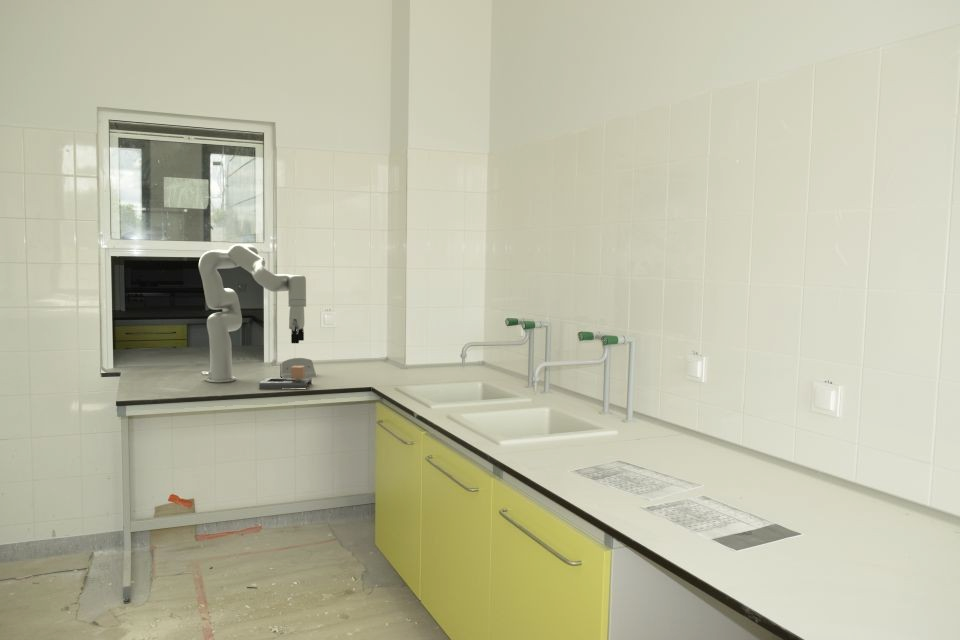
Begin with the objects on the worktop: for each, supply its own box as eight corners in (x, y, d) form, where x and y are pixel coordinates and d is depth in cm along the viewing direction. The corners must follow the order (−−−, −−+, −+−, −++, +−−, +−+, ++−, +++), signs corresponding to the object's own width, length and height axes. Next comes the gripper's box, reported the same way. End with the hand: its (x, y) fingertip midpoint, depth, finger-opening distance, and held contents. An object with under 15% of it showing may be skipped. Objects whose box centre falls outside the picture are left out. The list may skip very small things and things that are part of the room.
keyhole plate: (259, 389, 314) (259, 382, 313) (267, 383, 327) (267, 377, 326) (305, 389, 314) (305, 383, 314) (311, 383, 327) (311, 377, 327)
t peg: (291, 387, 318) (291, 367, 317) (294, 385, 323) (293, 365, 322) (302, 387, 318) (302, 367, 317) (305, 385, 323) (304, 365, 322)
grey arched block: (282, 379, 339) (280, 358, 341) (279, 380, 343) (277, 360, 345) (316, 376, 348) (314, 355, 350) (314, 378, 352) (311, 358, 354)
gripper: (293, 301, 326) (293, 339, 327) (283, 304, 308) (284, 344, 310) (310, 301, 326) (310, 339, 328) (301, 304, 309) (301, 344, 310)
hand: (297, 341), depth 319 cm, fingers open, 9 cm apart
